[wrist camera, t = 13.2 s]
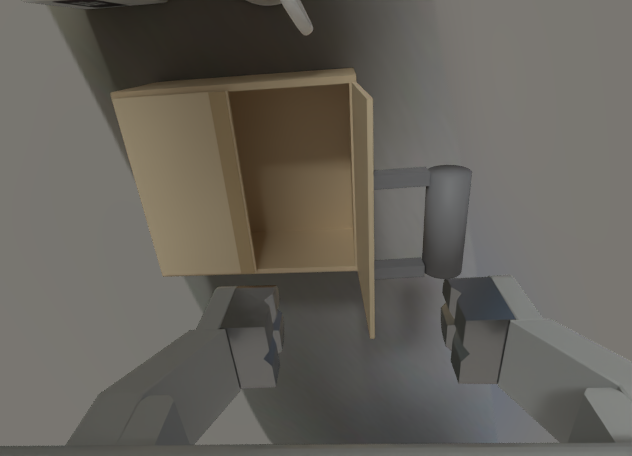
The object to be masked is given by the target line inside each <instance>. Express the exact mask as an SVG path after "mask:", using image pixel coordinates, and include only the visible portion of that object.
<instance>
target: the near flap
mask: <svg viewBox="0 0 632 456" xmlns="http://www.w3.org/2000/svg"><path fill="white" fill-rule="evenodd" d="M352 112H353V146H354V179H355V212H356V245H357V271H358V276H359V282H360V287H361V292H362V298H363V303H364V308H365V314H366V319H367V324H368V330H369V335H370V339H375V303H374V280H378V279H394V278H410V277H424V272H425V273H426V274H427V275H429V276H431V277H434V278H439V279H450V278H454V277H457V276H458V275H460V273H461V270H462V261H463V252H464V242H465V233H466V224H467V214H468V205H469V195H470V186H471V177H472V171H471V170H470V169H468V168H466V167H462V166H456V165H440V166H434V167H431V168H429V169H427V168H426V167H416V168H402V169H388V170H374V171H373V98H372V97H371V96H370V95H369V94H368V93H367V92H366V91H365V90H364V89H363V88H362V87H361V86H360V85H359V84H358V83H357V82H352ZM421 186H426V197H425V216H424V234H423V253H422V259H421V258H405V259H389V260H374V190H378V189H392V188H407V187H421Z"/></svg>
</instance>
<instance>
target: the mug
mask: <svg viewBox="0 0 632 456" xmlns="http://www.w3.org/2000/svg"><path fill="white" fill-rule="evenodd" d="M246 1H248V2H251V3H254V4H257V5H263V6H272V5H278V4H281V3H282V5H283V7H284V8H285V10H286V11H287V13H288V15H289V16H290V18H291V19H292V21H293V22H294V24H295V25H296V27H297V28H298V29H299V31H300V32H301V33H302V34H303V35H305V36H306V35H309V34H310V33H311V32H312V31H313V26H312V23H311V21H310V19H309V17H308V15H307V13H306V11H305V9H304V7H303V5H302V3H301V1H300V0H246Z"/></svg>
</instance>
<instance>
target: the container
mask: <svg viewBox="0 0 632 456" xmlns="http://www.w3.org/2000/svg"><path fill="white" fill-rule="evenodd" d="M22 1H23V2H28V3H36V4H45V5H53V6H62V7H70V8H79V9H97V8H109V7H121V6H133V5H145V4H157V3H165V2H167V1H168V0H22Z"/></svg>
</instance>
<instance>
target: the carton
mask: <svg viewBox="0 0 632 456" xmlns="http://www.w3.org/2000/svg"><path fill="white" fill-rule="evenodd" d="M352 82H356V73H355V71H354V69H353V68H339V69H326V70H312V71H299V72H285V73H271V74H258V75H244V76H231V77H217V78H204V79H190V80H176V81H163V82H154V83H150V84H146V85H141V86H137V87H133V88H128V89H124V90H120V91H115V92H111V93H110V95H111V98H112V102H113V106H114V109H115V113H116V116H117V119H118V123H119V126H120V130H121V133H122V137H123V140H124V144H125V147H126V151H127V154H128V158H129V161H130V165H131V168H132V171H133V175H134V178H135V182H136V185H137V189H138V192H139V196H140V199H141V203H142V206H143V209H144V213H145V217H146V220H147V223H148V227H149V230H150V234H151V237H152V241H153V244H154V248H155V251H156V255H157V258H158V262H159V265H160V268H161V272H162V275H163V277H164V276H200V275H233V274H267V273H301V272H334V271H357V245H356V212H355V179H354V146H353V112H352Z"/></svg>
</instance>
